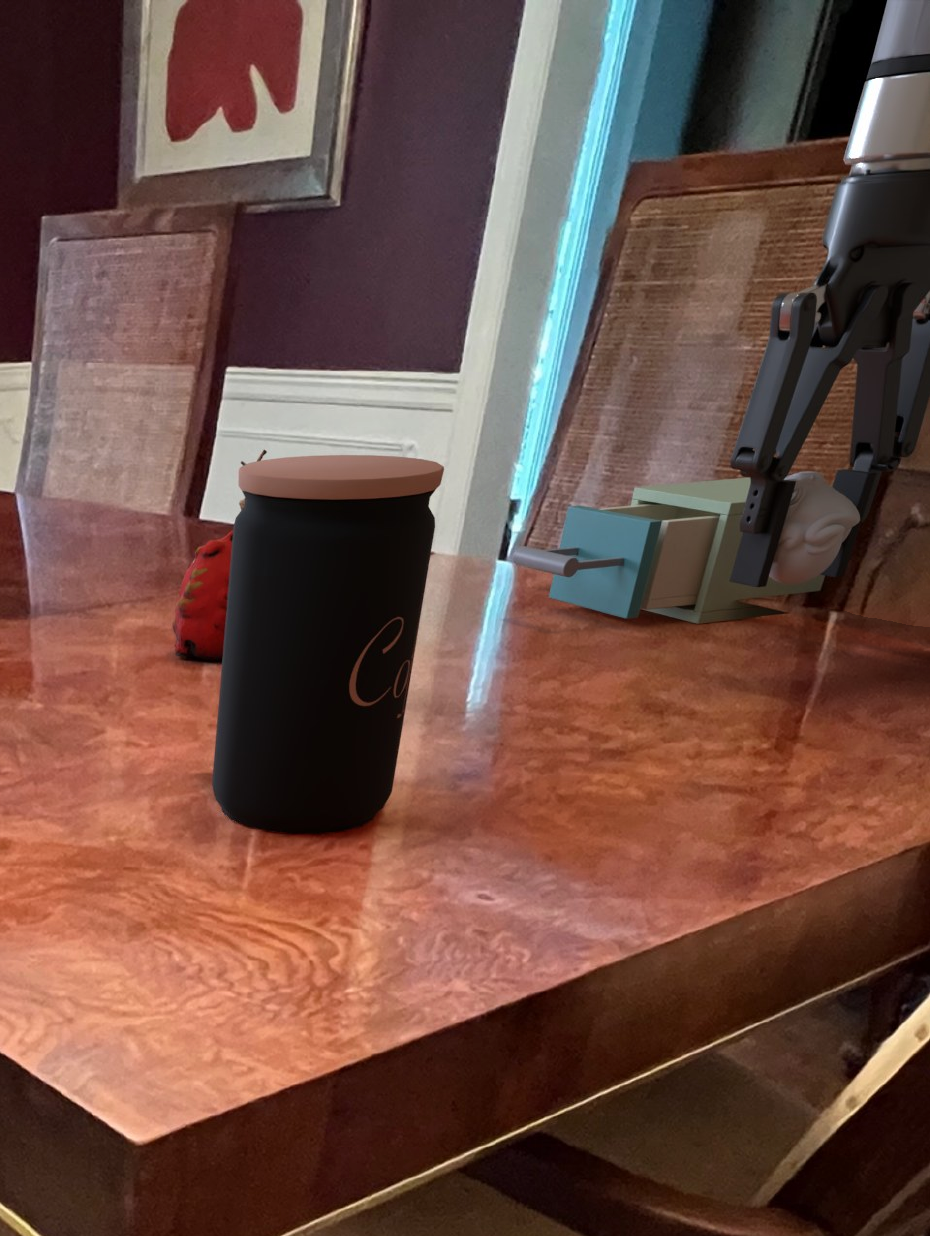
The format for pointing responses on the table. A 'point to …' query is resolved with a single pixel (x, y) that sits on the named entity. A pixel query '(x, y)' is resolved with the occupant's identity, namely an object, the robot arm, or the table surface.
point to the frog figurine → (812, 529)
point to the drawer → (627, 557)
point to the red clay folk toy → (205, 600)
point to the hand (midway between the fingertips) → (786, 578)
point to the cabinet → (719, 552)
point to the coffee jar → (320, 638)
